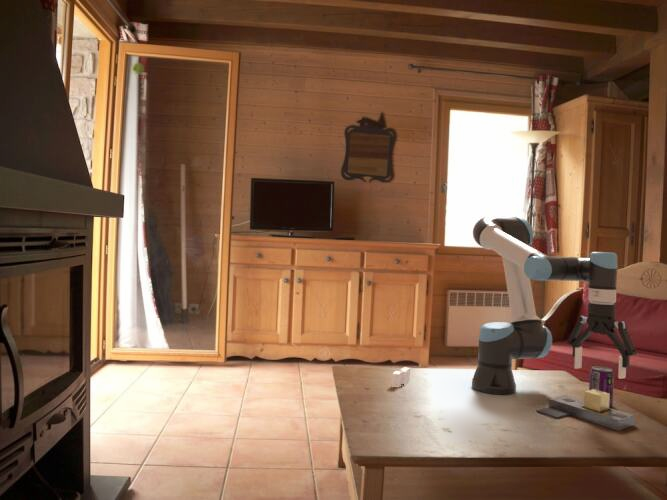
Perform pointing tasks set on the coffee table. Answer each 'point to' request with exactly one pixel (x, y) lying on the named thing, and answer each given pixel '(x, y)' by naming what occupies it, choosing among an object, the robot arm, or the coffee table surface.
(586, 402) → the yellow rectangular block
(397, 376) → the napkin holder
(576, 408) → the rack rail
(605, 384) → the beverage can
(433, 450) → the coffee table surface
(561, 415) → the rubber mat
